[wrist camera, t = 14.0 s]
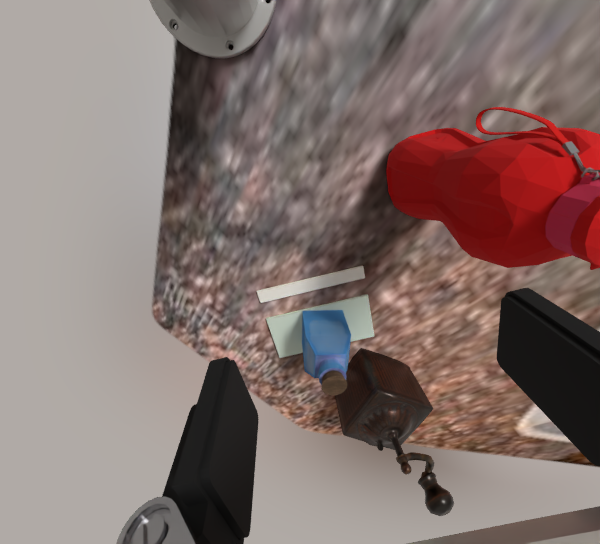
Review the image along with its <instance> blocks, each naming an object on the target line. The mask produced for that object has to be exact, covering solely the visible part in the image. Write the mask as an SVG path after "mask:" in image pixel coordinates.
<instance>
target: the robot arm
mask: <svg viewBox="0 0 600 544" xmlns="http://www.w3.org/2000/svg"><path fill="white" fill-rule="evenodd" d="M150 2H151V5H152V7H153V9H154V11H155V12H156V14H157V16H158V17H159V19H160V21H161V22H162V24H163V25H164V26H165V27H166V28H167V29H168V31H169V32H170V33H171V34H172V35H173V36H174V37H175V38H176V39H177V40H178V41H179V42H180V43H182V44H183V45H185V46H186V47H187V48H189V49H190V50H192V51H194V52H196V53H198V54H200V55H203V56H207V57H211V58H230V57H235V56H238V55H240V54H242V53H244V52H246V51H248V50H249V49H250V48H251V47H253V46H254V45H255V44H256V43H257V42H258V41H259V40H260V38H261V37H262V36H263V35H264V33H265V31H266V30H267V28H268V26H269V24H270V22H271V19H272V16H273V13H274V10H275V6H276V0H271V2H270V3H266V0H150ZM175 25H178V29H177V30H175V28H174V26H175ZM230 45H233V49H232V50H230V49H229V46H230ZM497 361H498V363H499V365H500V367H501V368H502V369H503V370H504V371H505V372H506V373H507V374H508V375H509V376H510V377H511V379H512V380H513V381H514V382H515V383H516V384H517V385H518V386H519V387H520V388H521V389H522V390H523V391H524V392H525V393H526V394H527V395H528V397H529V398H530V399H531V400H532V401H533V402H534V403H535V404H536V405H537V406H538V407H539V408H540V409H541V410H542V411H543V412H544V413H545V415H546V416H547V417H548V418H549V419H550V420H551V421H552V422H553V423H554V424H555V425H556V426H557V427H558V428H559V429H560V430H561V431H562V432H563V434H564V435H565V436H566V437H567V438H568V439H569V440H570V441H571V442H572V443H573V444H574V445H575V446H576V447H577V448H578V449H579V450H580V452H581V453H582V454H583V455H584V456H585V457H586V458H587V459H588V460H589V461H590V462H591V463H593V464H594V465H597V466H600V332H599V331H597V330H596V329H594V328H592V327H591V326H589V325H587V324H586V323H584V322H583V321H581V320H579V319H578V318H576V317H575V316H573V315H571V314H570V313H568V312H567V311H565V310H563V309H562V308H560V307H559V306H557V305H555V304H554V303H552V302H550V301H549V300H547V299H546V298H544V297H542V296H541V295H539V294H538V293H536V292H534V291H533V290H531V289H529V288H523V289H519V290H515V291H510V292H508V293H506V295H505V297H504V298H503V299H502V301H501V311H500V323H499V336H498V348H497ZM257 430H258V413H257V410H256V408H255V405H254V403H253V401H252V399H251V397H250V395H249V392H248V390H247V387H246V385H245V383H244V381H243V378H242V376H241V374H240V372H239V369H238V367H237V365H236V363H235V361H234V360H231V361H230V360H229V358H228V357H226V358H221V359H217V360H213V361H211V362H210V363H209V366H208V370H207V373H206V376H205V380H204V383H203V386H202V390H201V393H200V396H199V399H198V402H197V404H196V405H194V406H193V407H192V408H191V410H190V412H189V416H188V419H187V422H186V425H185V428H184V431H183V434H182V437H181V440H180V443H179V446H178V450H177V452H176V456H175V459H174V462H173V465H172V468H171V471H170V474H169V477H168V480H167V484H166V486H165V490H164V493H163V496H162V497H157V498H154V499H152V500H150V501H148V502H146V503H145V504H144V505H142V506H141V507H140V508H138V510H137V511H136V512H135V513H134V514H133V515H132V516H131V517H130V518H129V520H128V521H127V523H126V524H125V526H124V527H123V529H122V532H121V534H120V536H119V538H118V540H117V544H243V542H244V538H245V537H248V536H249V532H250V524H251V511H252V498H253V485H254V471H255V457H256V445H257V432H258V431H257ZM409 544H600V507H594V508H589V509H584V510H579V511H573V512H568V513H562V514H557V515H552V516H547V517H542V518H536V519H531V520H526V521H521V522H516V523H511V524H505V525H500V526H495V527H490V528H485V529H480V530H474V531H469V532H465V533H459V534H454V535H449V536H444V537H439V538H434V539H429V540H424V541H418V542H413V543H409Z"/></svg>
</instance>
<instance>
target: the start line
mask: <svg viewBox="0 0 600 544" xmlns="http://www.w3.org/2000/svg"><path fill="white" fill-rule="evenodd" d="M363 278H365V274H364V268H363V265H362V266H358V267H354V268H349V269H345V270H341V271H337V272H333V273H329V274H325V275H320V276H316V277H312V278H308V279H304V280H300V281H296V282H291V283H287V284H283V285H279V286H275V287H271V288H267V289H262V290H258V291H257V294H258V297H259V300H260V303H263V302H267V301H271V300H276V299H280V298H284V297H288V296H292V295H296V294H301V293H305V292H309V291H313V290H317V289H321V288H326V287H330V286H334V285H338V284H342V283H347V282H351V281H355V280H359V279H363Z"/></svg>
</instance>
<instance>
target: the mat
mask: <svg viewBox="0 0 600 544" xmlns="http://www.w3.org/2000/svg"><path fill="white" fill-rule="evenodd" d="M314 310H343V313H344V316H345V318H346V321H347V324H348V327H349V330H350V333H351V342H352V341H356V340H360V339H365V338H369V337H373V336H374V331H373V325H372V318H371V312H370V305H369V299H368V295H367V294H366V295H361V296H357V297H353V298H349V299H344V300H340V301H336V302H332V303H327V304H323V305H319V306H315V307H311V308H306V309H302V310H298V311H294V312H289V313H285V314H281V315H277V316H273V317H268V318H266V320H267V323H268V326H269V329H270V331H271V334H272V337H273V340H274V343H275V346H276V349H277V351H278V354H279V357H280V358H282V357H286V356H291V355H295V354H299V353H303V349H302V314H303V311H314Z"/></svg>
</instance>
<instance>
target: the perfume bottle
mask: <svg viewBox="0 0 600 544" xmlns="http://www.w3.org/2000/svg"><path fill="white" fill-rule="evenodd" d="M350 342H351V333H350V330H349V327H348V324H347V321H346V318H345V316H344V313H343V310H314V311H303V314H302V349H303V358H304V368H305V371H306V372H307V373H308V374H310V375H311V376H312V377H314V378H319V381H320V383H321V385H322V390H323V392H324V393H326V394H328V395H338V394H341V393H342V392H344V391H345V390H346V388H347V382H346V372H347V369H348V360H349V351H350Z"/></svg>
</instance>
